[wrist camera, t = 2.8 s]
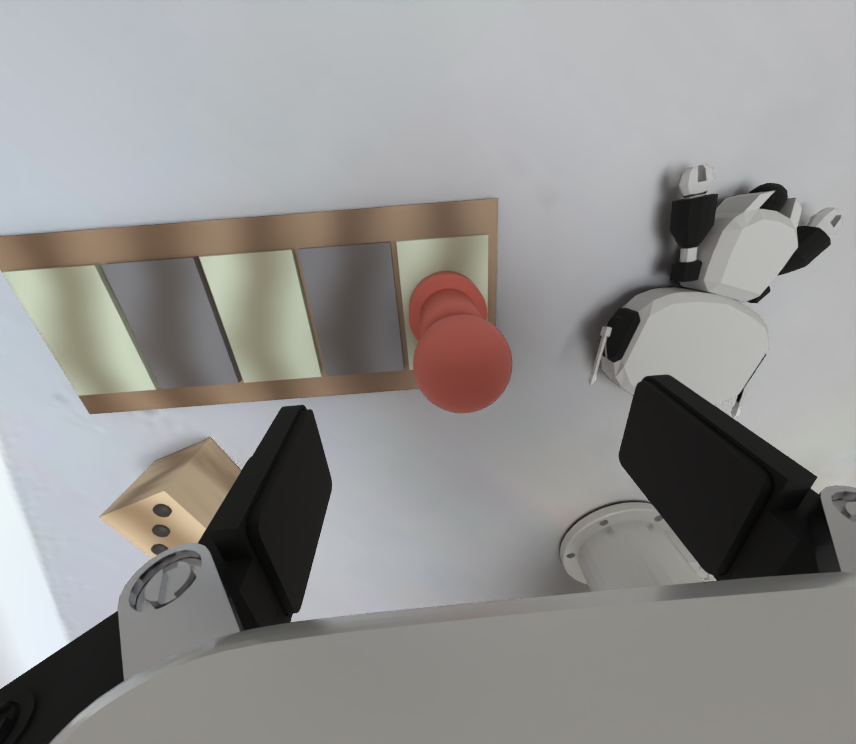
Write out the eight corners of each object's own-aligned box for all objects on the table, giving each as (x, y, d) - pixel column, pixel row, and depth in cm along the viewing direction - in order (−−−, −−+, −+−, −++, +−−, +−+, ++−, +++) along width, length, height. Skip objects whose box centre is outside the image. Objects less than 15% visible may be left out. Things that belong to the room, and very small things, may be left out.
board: (495, 198, 22) (500, 198, 20) (492, 378, 27) (495, 386, 26) (-5, 237, 22) (-31, 239, 20) (98, 408, 27) (83, 418, 26)
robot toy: (652, 162, 22) (562, 371, 27) (709, 145, 18) (590, 396, 23) (806, 214, 24) (693, 400, 29) (891, 210, 19) (740, 429, 25)
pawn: (481, 267, 22) (537, 321, 12) (481, 339, 24) (528, 434, 14) (405, 273, 22) (398, 332, 12) (412, 344, 24) (411, 443, 14)
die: (210, 437, 29) (162, 492, 24) (253, 484, 32) (219, 543, 26) (155, 461, 30) (96, 519, 24) (201, 504, 33) (158, 566, 27)
